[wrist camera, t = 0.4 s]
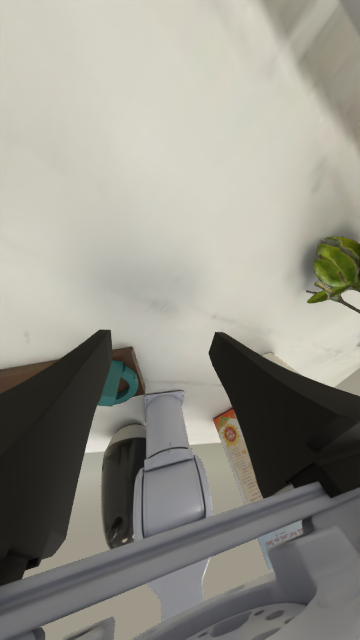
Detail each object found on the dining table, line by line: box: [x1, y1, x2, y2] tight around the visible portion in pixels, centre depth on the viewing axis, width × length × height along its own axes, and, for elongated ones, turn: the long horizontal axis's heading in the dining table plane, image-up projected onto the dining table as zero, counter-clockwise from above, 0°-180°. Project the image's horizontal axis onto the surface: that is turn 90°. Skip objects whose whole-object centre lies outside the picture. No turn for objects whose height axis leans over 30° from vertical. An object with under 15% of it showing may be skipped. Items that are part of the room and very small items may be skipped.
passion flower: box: [306, 236, 360, 313], centre depth 18 cm, size 11×11×12 cm
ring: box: [97, 360, 138, 406], centre depth 19 cm, size 9×8×6 cm
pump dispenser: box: [101, 424, 146, 550], centre depth 26 cm, size 10×10×15 cm
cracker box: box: [214, 409, 303, 571], centre depth 30 cm, size 14×6×21 cm, turn 125°
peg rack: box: [0, 347, 145, 402], centre depth 19 cm, size 19×10×7 cm, turn 94°
